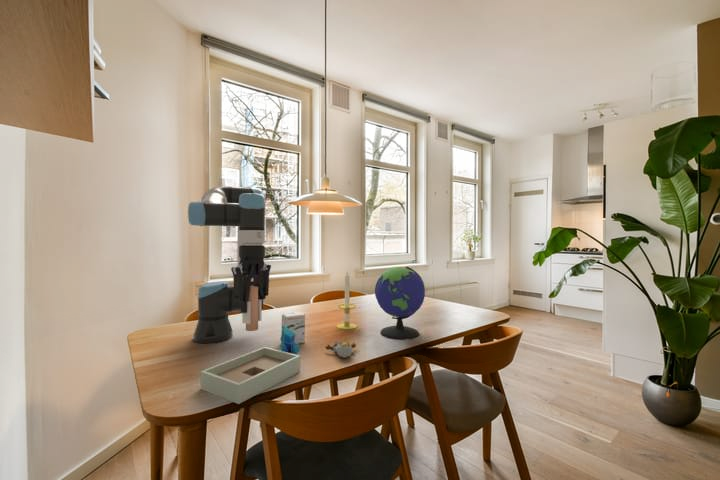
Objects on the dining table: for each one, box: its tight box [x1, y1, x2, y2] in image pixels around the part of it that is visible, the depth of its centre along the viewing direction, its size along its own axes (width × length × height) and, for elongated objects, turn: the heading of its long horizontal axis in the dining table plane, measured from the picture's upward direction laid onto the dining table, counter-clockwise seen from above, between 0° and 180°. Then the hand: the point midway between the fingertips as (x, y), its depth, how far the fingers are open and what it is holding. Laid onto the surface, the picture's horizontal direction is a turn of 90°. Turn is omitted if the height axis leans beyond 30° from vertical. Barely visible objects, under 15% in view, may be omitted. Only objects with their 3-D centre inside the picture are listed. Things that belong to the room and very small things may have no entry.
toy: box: [324, 339, 357, 359], centre depth 122 cm, size 12×5×15 cm
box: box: [200, 346, 301, 405], centre depth 99 cm, size 16×24×5 cm, turn 150°
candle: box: [336, 271, 358, 331], centre depth 156 cm, size 10×10×27 cm
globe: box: [374, 266, 426, 341], centre depth 146 cm, size 22×22×30 cm
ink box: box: [280, 311, 306, 345], centre depth 133 cm, size 9×5×12 cm, turn 123°
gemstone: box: [280, 325, 300, 355], centre depth 115 cm, size 7×9×12 cm
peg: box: [245, 286, 259, 332], centre depth 99 cm, size 4×4×13 cm
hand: (252, 321), depth 99 cm, fingers closed on peg, 3 cm apart
